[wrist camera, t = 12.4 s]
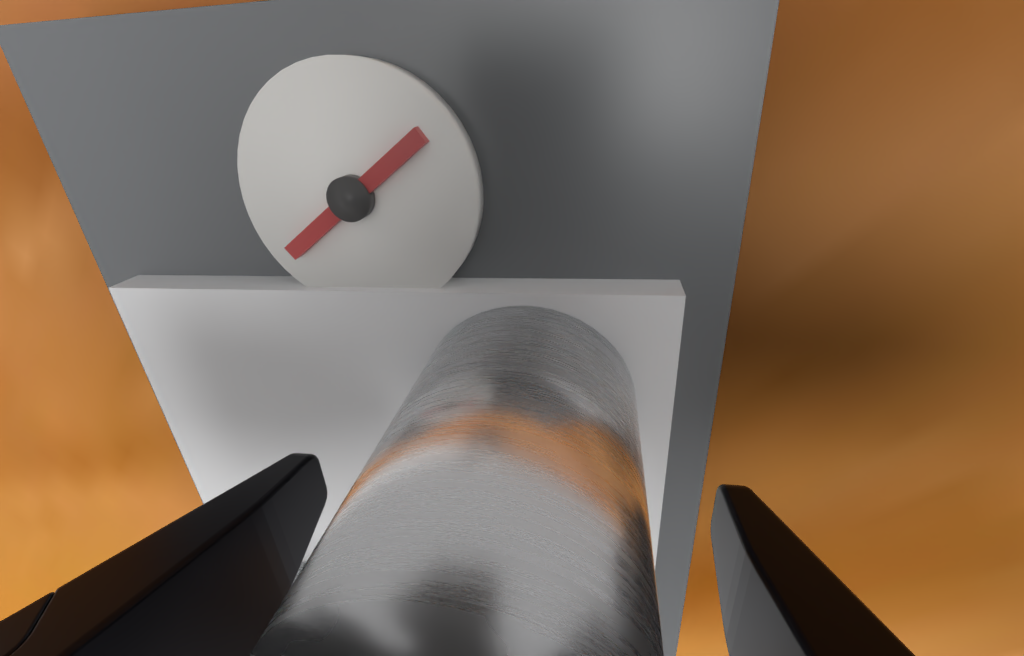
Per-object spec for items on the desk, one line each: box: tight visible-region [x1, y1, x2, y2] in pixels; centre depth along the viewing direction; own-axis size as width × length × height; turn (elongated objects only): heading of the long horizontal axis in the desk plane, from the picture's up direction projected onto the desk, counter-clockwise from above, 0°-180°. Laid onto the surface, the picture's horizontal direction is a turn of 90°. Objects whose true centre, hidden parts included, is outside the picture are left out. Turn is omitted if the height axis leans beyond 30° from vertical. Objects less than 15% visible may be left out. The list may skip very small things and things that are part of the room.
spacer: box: [250, 305, 664, 656], centre depth 8 cm, size 4×4×6 cm
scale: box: [0, 0, 779, 656], centre depth 13 cm, size 14×19×3 cm
